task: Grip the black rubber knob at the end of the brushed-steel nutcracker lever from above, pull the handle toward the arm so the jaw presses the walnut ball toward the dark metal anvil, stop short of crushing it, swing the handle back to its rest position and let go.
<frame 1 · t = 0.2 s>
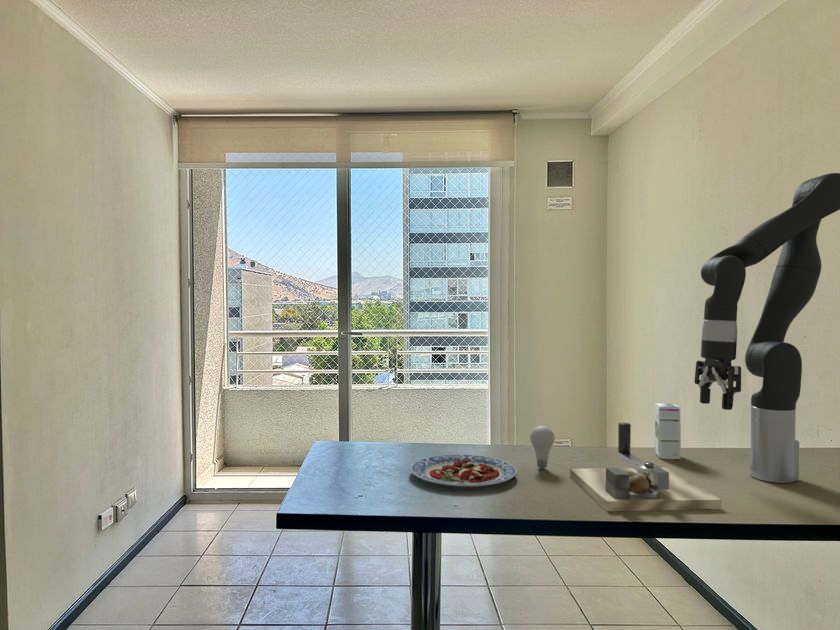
hand: (715, 406, 136), 18 cm above the table, tool pointing down, fingers open, 8 cm apart
lever: (641, 453, 128), point 8 cm above the table, hinge at 0.0°
walnut: (638, 494, 119), point 2 cm above the table, touching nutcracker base
lightbulb: (542, 469, 144), on the table
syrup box: (667, 457, 156), on the table
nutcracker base: (639, 491, 127), on the table
ceramic plate: (463, 477, 138), on the table
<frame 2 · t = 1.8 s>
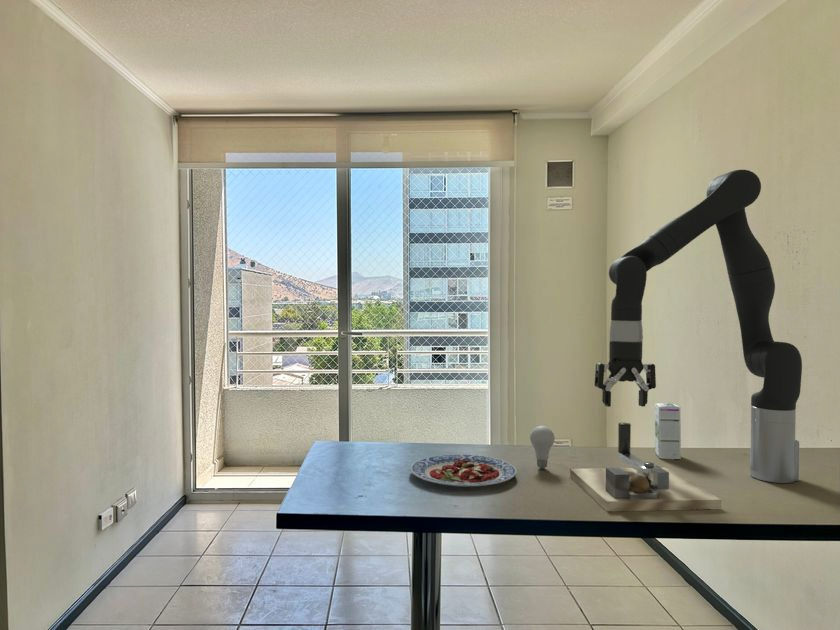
hand: (624, 406, 137), 17 cm above the table, tool pointing down, fingers open, 8 cm apart
nothing on the table moved.
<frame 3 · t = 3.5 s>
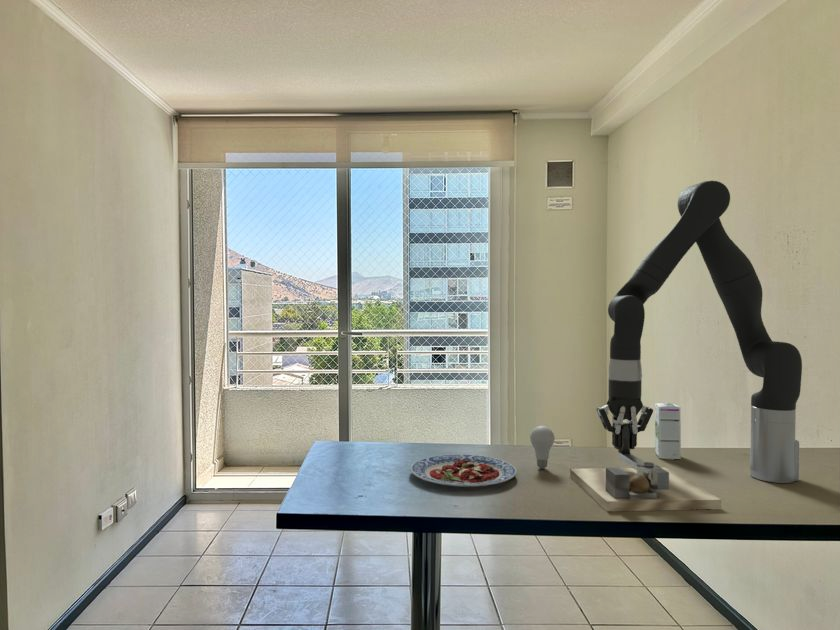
hand: (624, 448, 137), 7 cm above the table, tool pointing down, fingers closed on lever, 3 cm apart
lever: (641, 453, 128), point 8 cm above the table, hinge at 0.0°, touching gripper
everything else where it was.
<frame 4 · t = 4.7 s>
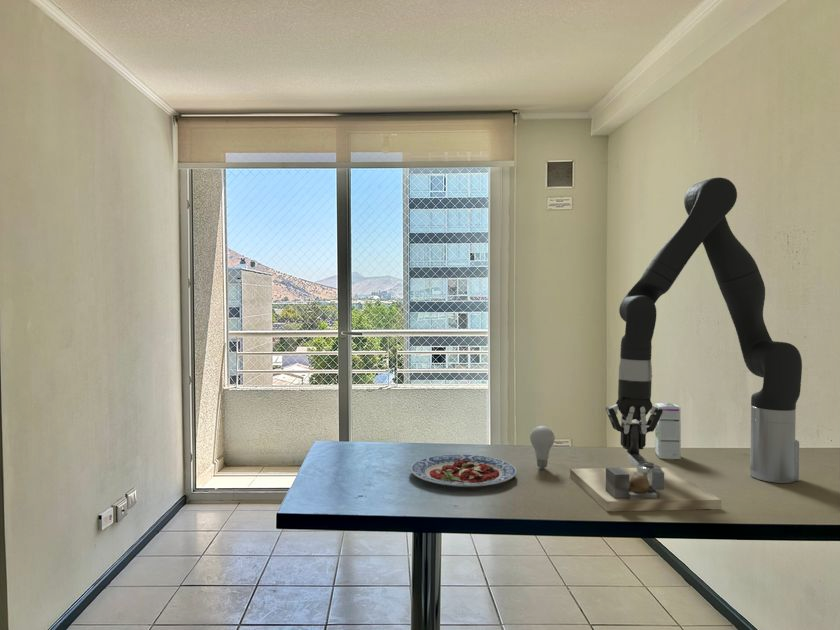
hand: (632, 448, 137), 7 cm above the table, tool pointing down, fingers closed on lever, 3 cm apart
lever: (643, 453, 128), point 8 cm above the table, hinge at 9.5°, touching gripper
everything else where it was.
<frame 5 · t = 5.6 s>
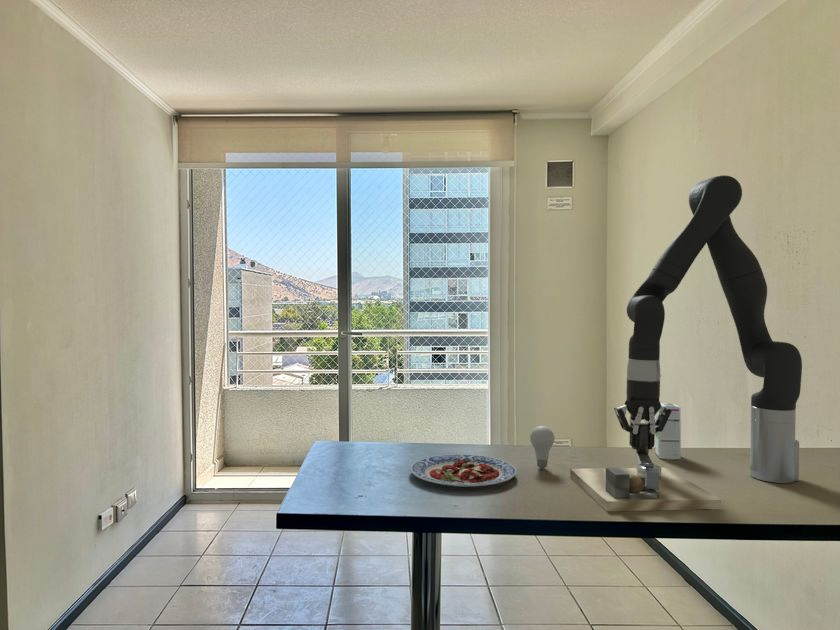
hand: (641, 448, 137), 7 cm above the table, tool pointing down, fingers closed on lever, 3 cm apart
lever: (646, 453, 128), point 8 cm above the table, hinge at 18.8°, touching gripper
walnut: (638, 492, 119), point 2 cm above the table, tilted 35°, touching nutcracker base
everything else where it was.
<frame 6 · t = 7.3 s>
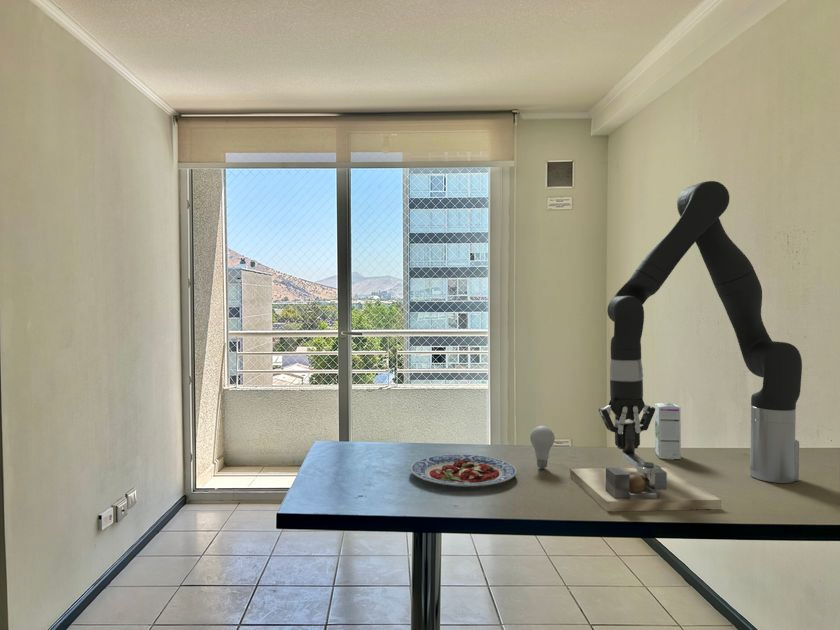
hand: (627, 447, 138), 7 cm above the table, tool pointing down, fingers closed on lever, 3 cm apart
lever: (642, 453, 128), point 8 cm above the table, hinge at 4.6°, touching gripper
walnut: (638, 493, 119), point 2 cm above the table, tilted 22°, touching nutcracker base
everything else where it was.
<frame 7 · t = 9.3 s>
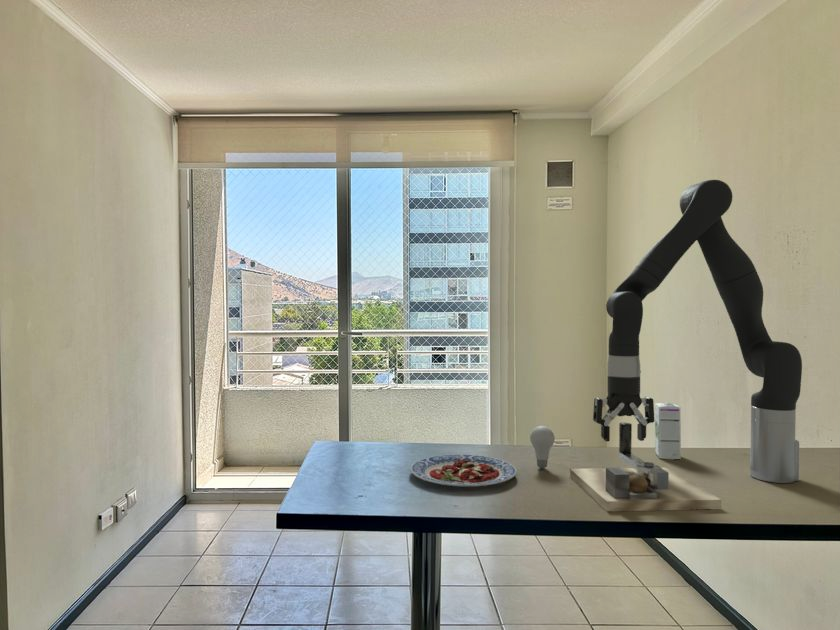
hand: (623, 440, 137), 9 cm above the table, tool pointing down, fingers open, 8 cm apart
lever: (641, 453, 128), point 8 cm above the table, hinge at 1.0°
walnut: (638, 494, 119), point 2 cm above the table, tilted 11°, touching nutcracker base
everything else where it was.
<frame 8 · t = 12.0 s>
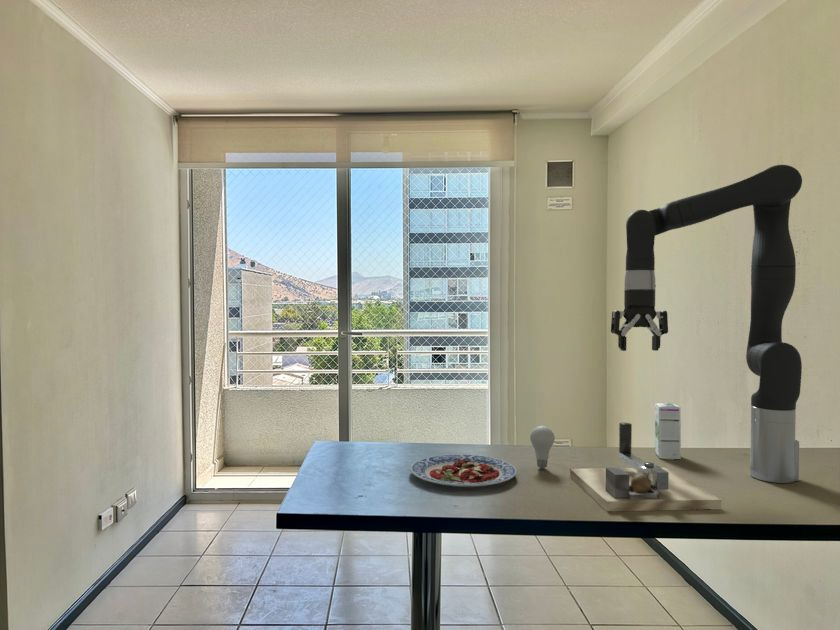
hand: (639, 350, 147), 30 cm above the table, tool pointing down, fingers open, 8 cm apart
walnut: (639, 493, 119), point 2 cm above the table, tilted 18°, touching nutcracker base
everything else where it was.
at the end: lever at +1° (first picture: +0°); walnut 0.8 cm from the target spot, point 2.1 cm above the table; the gripper is holding nothing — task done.
